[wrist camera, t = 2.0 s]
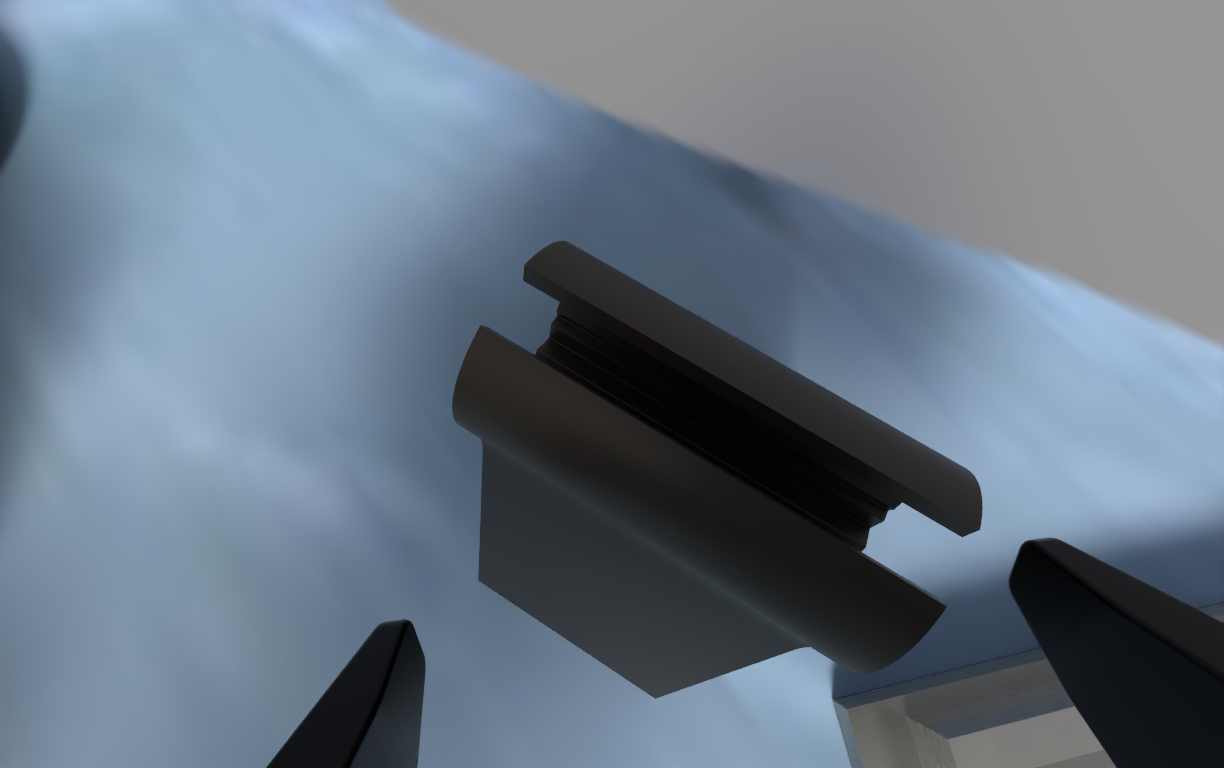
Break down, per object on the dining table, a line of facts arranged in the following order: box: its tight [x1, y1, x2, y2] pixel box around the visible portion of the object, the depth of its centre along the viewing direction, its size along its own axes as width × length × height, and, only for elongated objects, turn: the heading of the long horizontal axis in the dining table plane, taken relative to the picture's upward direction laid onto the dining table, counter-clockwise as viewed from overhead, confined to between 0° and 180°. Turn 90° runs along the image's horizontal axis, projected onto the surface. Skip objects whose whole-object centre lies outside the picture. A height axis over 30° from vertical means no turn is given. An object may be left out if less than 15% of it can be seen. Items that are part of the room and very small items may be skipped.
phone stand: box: [452, 241, 982, 698], centre depth 12 cm, size 9×6×12 cm, turn 148°
